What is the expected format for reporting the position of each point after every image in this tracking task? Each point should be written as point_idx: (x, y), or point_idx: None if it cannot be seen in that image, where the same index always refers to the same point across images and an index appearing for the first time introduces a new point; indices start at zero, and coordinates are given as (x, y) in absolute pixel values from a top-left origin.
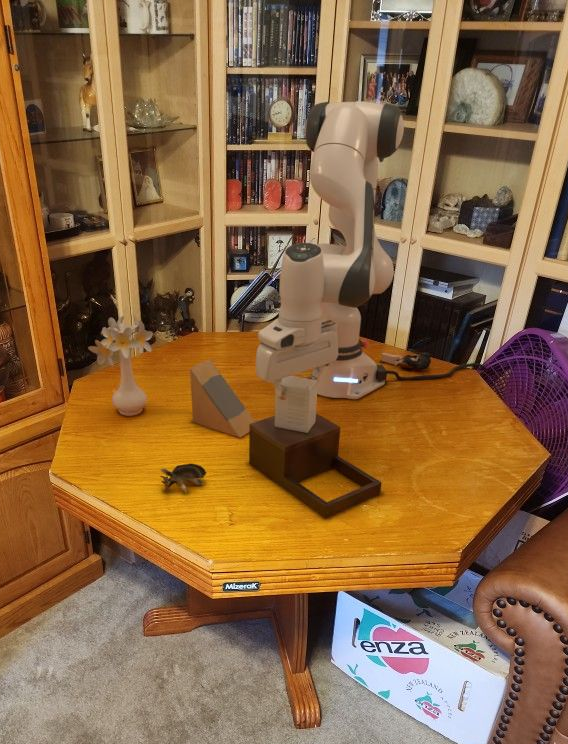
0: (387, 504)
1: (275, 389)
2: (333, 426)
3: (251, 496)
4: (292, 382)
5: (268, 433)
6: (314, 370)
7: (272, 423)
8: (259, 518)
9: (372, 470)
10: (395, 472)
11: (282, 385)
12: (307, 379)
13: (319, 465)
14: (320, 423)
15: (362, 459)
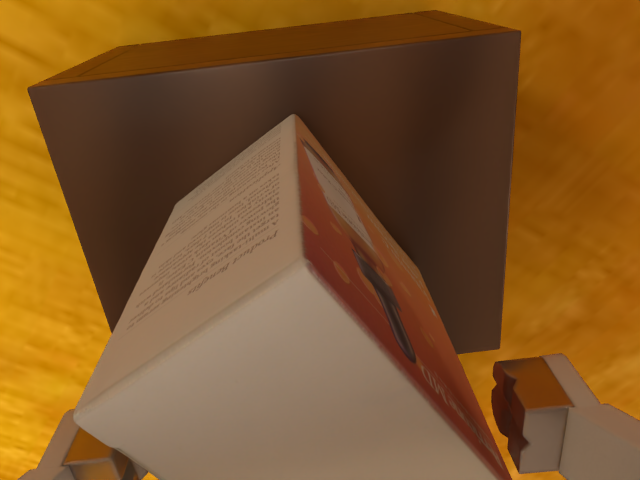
0: None
1: (49, 453)
2: (472, 333)
3: (41, 263)
4: (266, 466)
5: (106, 250)
6: (628, 455)
7: (184, 156)
8: (27, 370)
9: (520, 309)
10: (569, 346)
11: (139, 458)
12: (453, 463)
13: None
14: (439, 281)
15: (552, 239)
